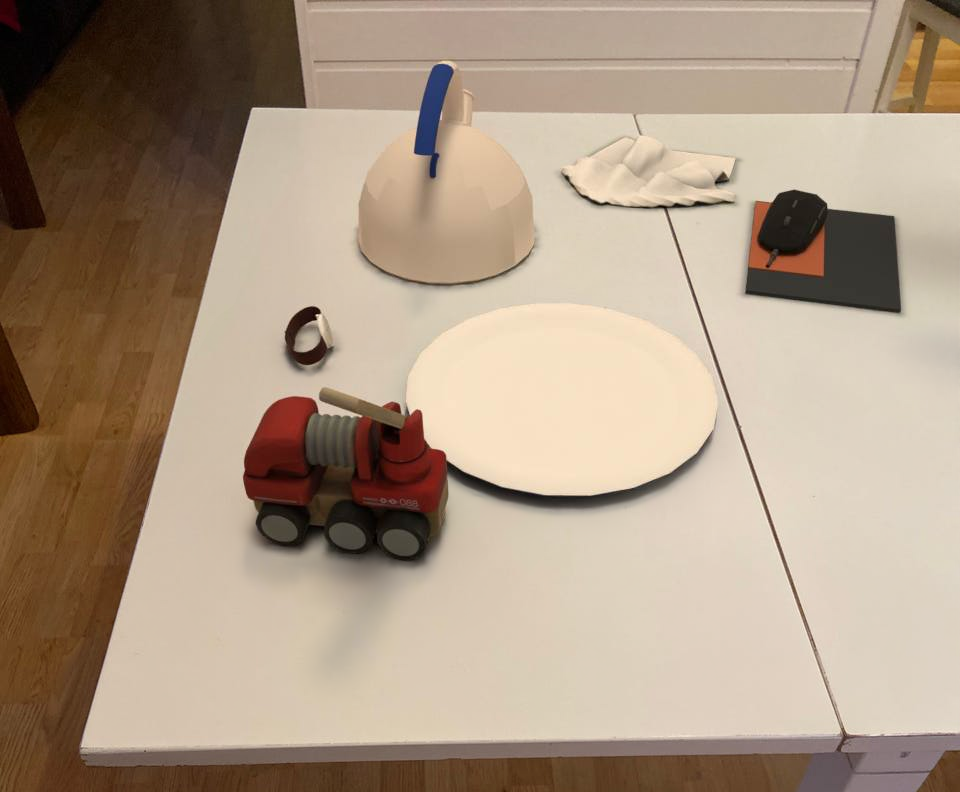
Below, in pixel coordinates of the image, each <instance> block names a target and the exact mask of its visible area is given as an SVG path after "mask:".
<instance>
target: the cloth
mask: <svg viewBox="0 0 960 792" xmlns="http://www.w3.org/2000/svg"><path fill="white" fill-rule="evenodd" d="M735 162H736V157H730V156H729V157H728V156H721V155H714V154H713V155H712V154H704V153H697V152H687V151H680V150H673V149H672V150H671V149H670V148H669V147H667V146H666V145H665V144H663V143H662V142H660V140H659V141H658V140H657V139H655V138H654V137H650V136H645V135H640V134H639V135H637V138H635V140H634V139H631V138H629V137H626V136H625V137H622V138H621V139H619V140H618V141H615V142H614V143H612V144H610V145H608V146H606V147H605V148H603V149H601V150H599V151H597V152H595V153H594V154H592V155H591V156H585V157H581V158H579V159H577V160H576V162H575V165H572V164H567V165H564V166H563V167H561V168H560V170H561V172H562V175H563V176H564V177H565V178H567V180H568V181H569V183H570V184H571V185H573V186H574V189H576V191H577V193H578V194H579V195H581V196H585V197H588V198H589V199H590V200H591V201H593V202H594V203H597V204H605V203H608V204H609V205H613V206H624V207H630V208H631V207H633V208H634V207H635V208H637V207H646V208H655V207H665V208H669V207H676V206H681V205H682V206H686V207H690V206H691V207H692V206H696V205H702V204H703V205H704V204H713V205H714V204H717V203H721V202H733V203H734V200H735V197H736V194H735V193H734V192H732V191H730V190H728V189H721V188H720V189H719V188H717V186H716V182H723V181H727V180H730V178H731V176H732V172H733V169H734V166H735Z"/></svg>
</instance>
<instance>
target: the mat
mask: <svg viewBox="0 0 960 792" xmlns="http://www.w3.org/2000/svg"><path fill="white" fill-rule="evenodd" d="M772 202H773V201H760V200H755V203H754V210H753V211H754V212H753V219H752V230H751V238H750V245H749V246H750V248H749V257H748V266H747V276H746V284H745V292H744V293H745V294H747V295H755V296H764V297H771V298H772V297H773V298H780V299H786V300H787V299H788V300H794V301H795V300H796V301H803V302H812V303H818V304H819V303H820V304H828V305H836V306H844V307H852V308H858V309H859V308H860V309H867V310H876V311H883V312H892V313H899V314H900V313H901V311H902V302H901V301H902V300H901V287H900V275H899V261H898V259H899V258H898V247H897V233H896V221H895V220H896V219H895V216H894V215H888V214H881V213H879V214H878V213H871V212H870V213H868V212H860V211H853V210H843V209H833V208H828V214H827V217H826V220H825V223H824V225H823V227H822V228H821V230H820V231H819V232H818V234H817V235H816V236H815V238H814V239H813V241H812V242H811V243H810V245H809V246H808V247H807V248H806V249H805V250H803V251H801V252H798V253H781V252H778V254H777V256H776V258H775V259H773V261H772V263H771V264H770V266H769V268H767V267H766V264H767V263H768V261H769V259H770V255H771V253H772V252H773V250H769V249H768V248H766V247H764V246H762V245H760V244H759V241H758V238H757V237H758V234H759V231H760V228H761V225H762V222H763V220H764V218H765V216H766V213H767V211H768V209H769V207H770V205H771V203H772Z"/></svg>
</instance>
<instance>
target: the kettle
mask: <svg viewBox="0 0 960 792" xmlns="http://www.w3.org/2000/svg"><path fill="white" fill-rule="evenodd" d="M463 82H464V81H463V77H462V73H461V70H460V69H459V67H458V65H457V64H456V63H455V62H453V61H450V60H442V61H439V62H438V63H436V64H435V65H433V67H432V68H431V70H430V73H429V75H428V78H427V81H426V84H425V88H424V91H423V95H422V100H421V104H420V109H419V114H418V119H417V126H416V127H415V128H413V129H410V130H408V131H406V132H405V133H403V134H402V135H400V136H399V137H398V138H396V139H395V140H394V141H392V142H391V143H390V144H389V145H387V146H386V147H385V148H384V150H383V151H382V152H381V153H380V154H379V156H378V158H377V159H376V160H375V162H374V163H373V164H372V165H371V167H370V168H369V169H368V171H367V174H366V177H365V180H364V183H363V185H362V189H361V192H360V196H359V200H358V235H357V240H358V244H359V248H360V251H361V252H362V254H364V256H365V257H366V258H367V259H368V261H369V262H371V263H372V264H373V265H374V266H376V267H378V268H379V269H381V270H382V271H384V272H386V273H388V274H390V275H393V276H396V277H398V278H401V279H404V280H408V281H413V282H418V283H423V284H434V285H435V284H440V285H456V284H464V283H465V284H467V283H472V282H478V281H482V280H485V279H489V278H492V277H496V276H498V275H501V274H502V273H504V272H506V271H509V270H511V269H512V268H514V267H515V266H516V265H518V264H519V263H520V262H521V261H522V260H524V259H525V258H526V257H527V256H528V255H529V253H530V252H531V250H532V248H533V246H534V245H535V241H536V240H535V239H536V238H535V237H536V230H535V226H534V225H535V224H534V206H533V195H532V192H531V189H530V187H529V185H528V184H529V183H528V182H527V179H526V177H525V174H524V171H522V169H521V167H520V165H519V164H518V163H517V161H516V160H515V158H514V157H513V156H512V154H510V152H509V151H508V150H507V148H505V147H504V146H503V145H502V144H501V143H499V142H498V141H497V140H495V139H494V138H492V137H491V136H489V135H488V134H487V133H485V132H484V131H481V130H480V129H478V128H475V127H473V126H472V124H473V123H472V120H473V111H474V104H476V98H475V95H474V94H473V93H472V92H471V91H470V90H467V89H466V88H464V83H463Z"/></svg>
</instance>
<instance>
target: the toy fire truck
mask: <svg viewBox="0 0 960 792" xmlns="http://www.w3.org/2000/svg"><path fill="white" fill-rule="evenodd" d="M318 400H319V401H320V402H321V403H324V404H328V405H330V406H333V407H335V408H338V409H341V410H343V411H347V412H350V413H353V414H356V415H355V416H352V417H351V416H350V415H347V414H346V415H343V416H341V415H340V414H333V415H331V414H328V413H324V414H322V415H321V414H320V410H319V407H318V403H317V401H316V400H315V399H314V398H312V397H308V396H307V397H306V396H298V395H296V396H295V395H293V396H287V397H284V398H280V399H278V400H276V401H274V402H273V403H272V404H271V405H270V406H268V408H267V409H266V410H265V412H263V415H262V417H261V419H260V421H259V423H258V425H257V428H256V429H255V432H254V434H253V436H252V438H251V440H250V442H249V444H248V447H247V448H246V450H245V453H244V458H243V467H244V471H243V475H242V481H243V486H244V491H245V495H246V497H247V498H248V499H249V500H251V501H252V502H253V504H254V508H255V510H256V512H257V513H258V514H257V516H256V519H255V525H256V528H257V530H258V532H259V534H260V535H261V536H262V537H264V539H266V540H268V541H269V542H271V543H273V544H276V545H278V546H284V547H291V546H292V547H293V546H295V545H298V544H299V543H300V542H302V541H303V540H304V538H305V535H306V533H307V530H308V527H309V525H310V526H319V527H323V534H324V538H325V539H326V542H328V543H329V544H330V545H331V546H332V547H333V548H335V549H337V550H338V551H340V552H343V553H347V554H361V553H363V552H366V551H368V549H370V548H371V547H372V545H373V543H374V540H375V536H376V540H377V544H378V545H379V548H381V550H382V551H383V552H384V553H385V554H386V555H388V556H390V557H392V558H395V559H397V560H404V561H412V560H415V559H417V558H420V557H421V556H422V555H424V553H425V551H426V548H427V545H428V543H429V538H430V537H433V536H435V535H437V534H438V533H439V532H440V529H441V526H442V522H443V518H444V515H445V512H446V508H447V503H448V499H449V479H448V476H447V475H448V462H447V459H446V454H445V452H444V451H442V450H438V449H431V448H430V447H429V446H428V443H427V442H426V440H425V439H424V430H423V416H422V412H421V410H418V409H416V410H415V411H414V412H413V413H412V414H411V415H410V414H409V415H404V414H402V409H401V404H400V403H398V402H397V401H389V402H387V403H385V404H383V405H382V406H381V405H378V404H375V403H372V402H370V401H366V400H364V399H361V398H358V397H356V396H352V395H349V394H347V393H344V392H341V391H338V390H335V389H332V388H330V387H327V386H323V387H322V388H321V389H320V391H319V394H318Z"/></svg>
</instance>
